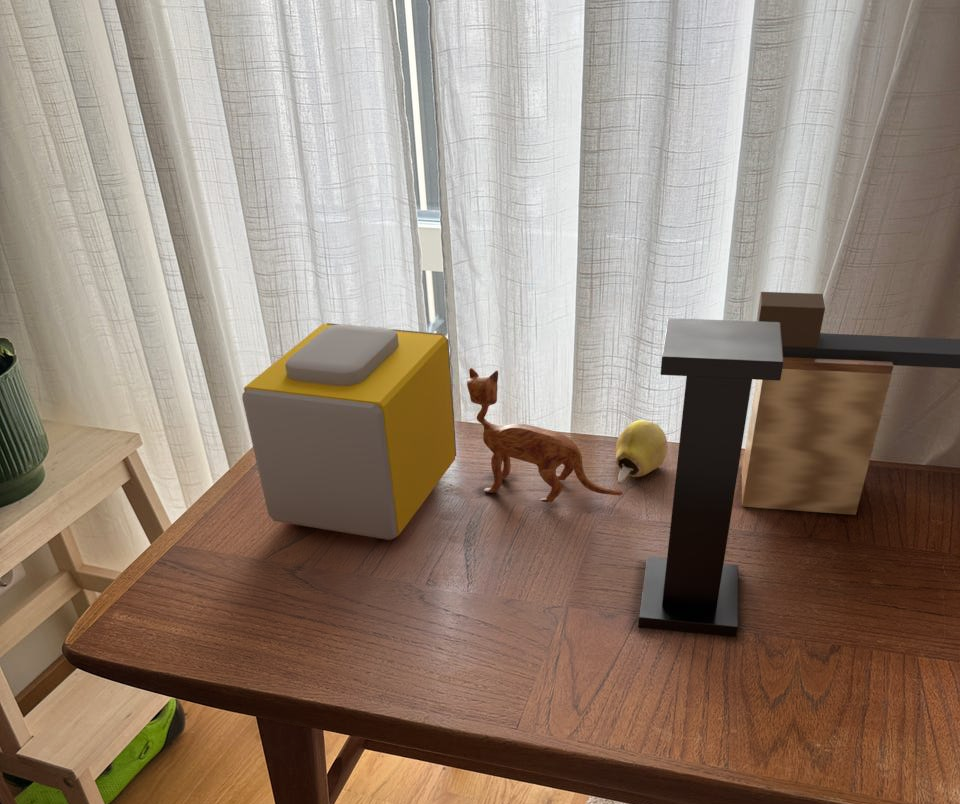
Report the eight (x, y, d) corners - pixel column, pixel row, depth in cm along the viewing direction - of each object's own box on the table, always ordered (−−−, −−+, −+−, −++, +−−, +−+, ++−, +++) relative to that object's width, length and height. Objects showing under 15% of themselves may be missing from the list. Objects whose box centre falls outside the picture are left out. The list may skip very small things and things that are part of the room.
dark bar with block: (958, 352, 92) (974, 298, 89) (964, 368, 89) (981, 313, 86) (752, 343, 96) (760, 291, 93) (753, 358, 93) (761, 305, 90)
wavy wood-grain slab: (849, 478, 105) (884, 334, 94) (855, 515, 99) (894, 366, 88) (741, 470, 107) (763, 330, 97) (741, 506, 102) (765, 360, 91)
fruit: (594, 486, 106) (621, 437, 112) (641, 507, 106) (667, 456, 111) (607, 449, 102) (636, 400, 108) (657, 471, 101) (683, 420, 107)
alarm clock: (342, 453, 115) (319, 306, 103) (460, 469, 111) (451, 317, 99) (264, 536, 101) (227, 378, 89) (396, 559, 97) (375, 395, 85)
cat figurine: (628, 488, 105) (636, 375, 97) (615, 518, 101) (622, 402, 92) (481, 468, 111) (476, 358, 102) (462, 495, 106) (455, 383, 97)
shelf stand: (736, 574, 92) (779, 317, 75) (736, 637, 84) (784, 367, 68) (646, 566, 94) (668, 313, 77) (638, 627, 86) (661, 361, 70)
